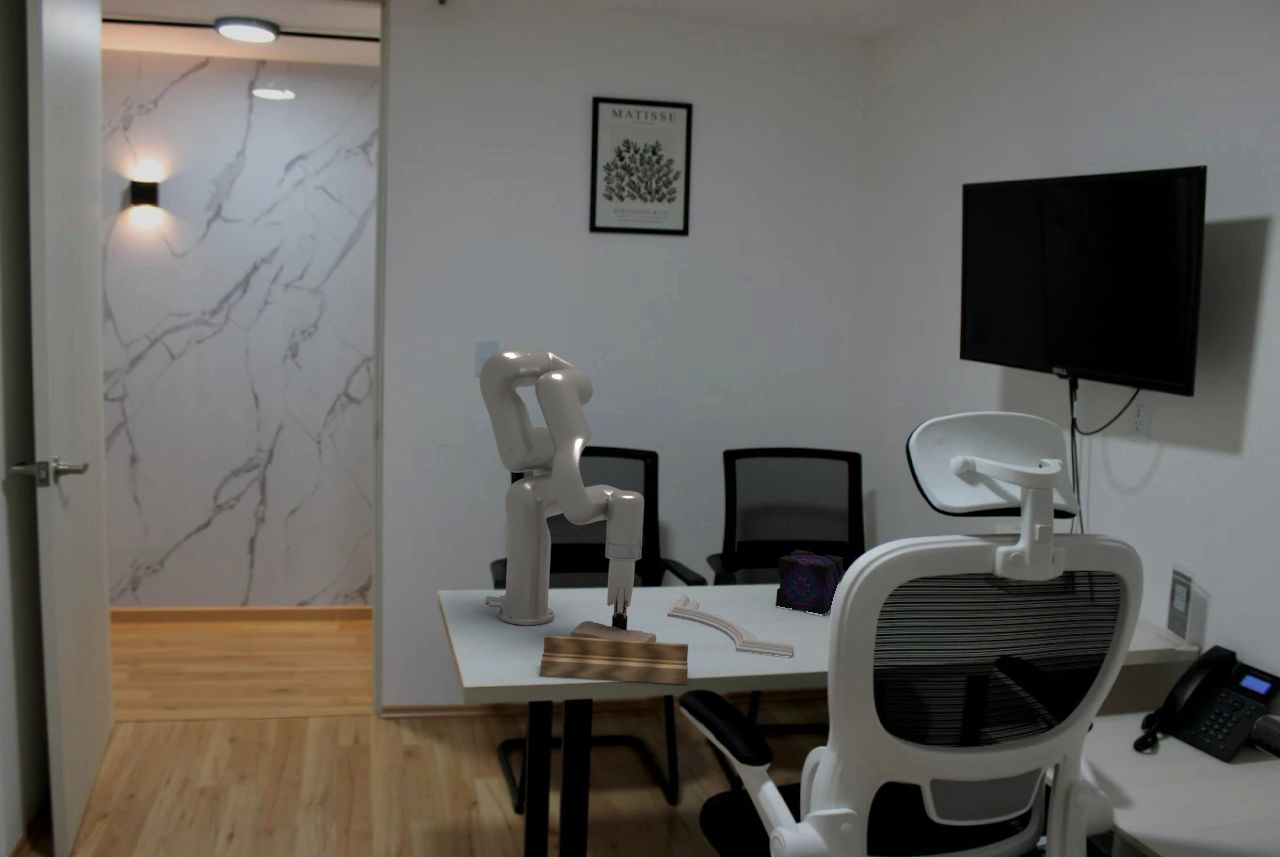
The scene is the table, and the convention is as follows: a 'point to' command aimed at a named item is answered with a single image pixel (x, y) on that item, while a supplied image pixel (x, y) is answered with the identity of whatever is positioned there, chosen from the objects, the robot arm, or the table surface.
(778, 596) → the energy cube
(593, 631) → the brick
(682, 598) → the molding
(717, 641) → the table surface
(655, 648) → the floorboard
